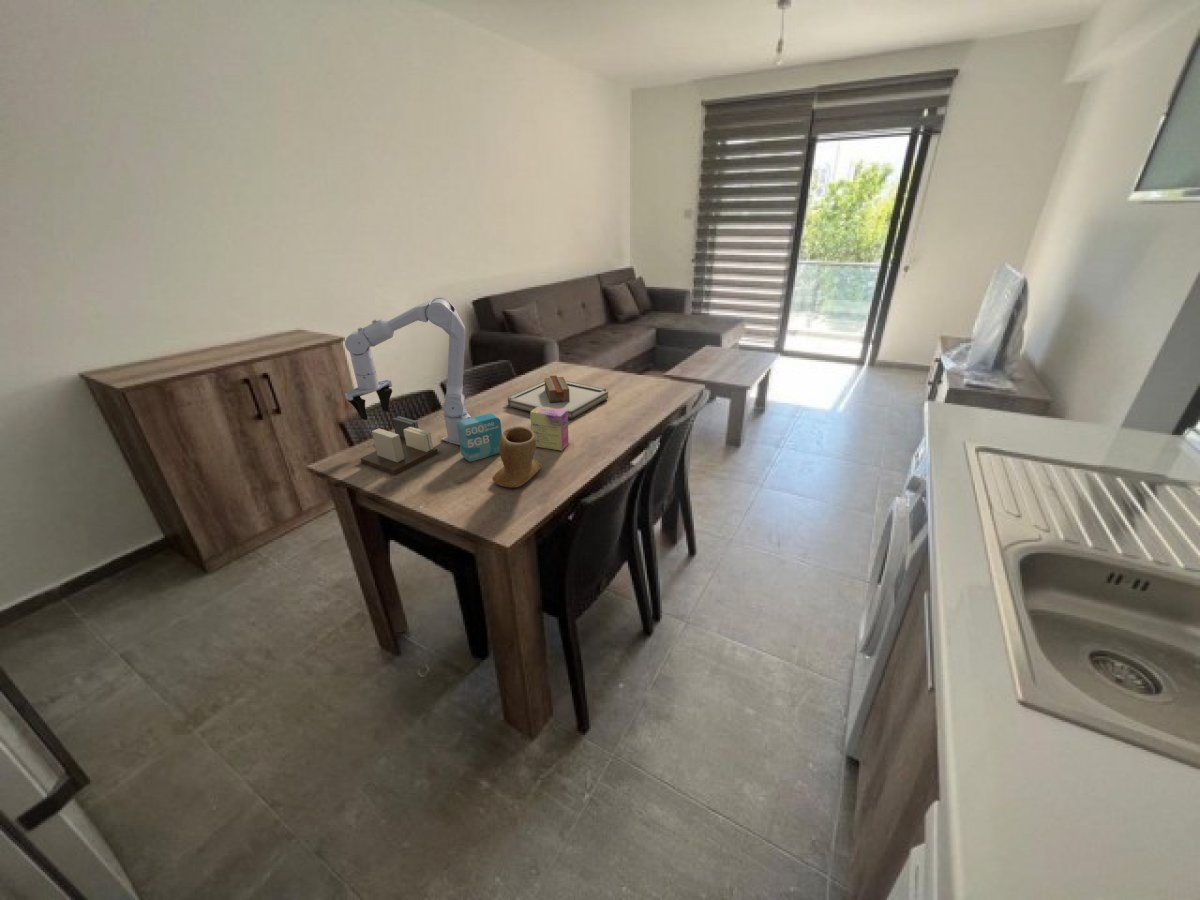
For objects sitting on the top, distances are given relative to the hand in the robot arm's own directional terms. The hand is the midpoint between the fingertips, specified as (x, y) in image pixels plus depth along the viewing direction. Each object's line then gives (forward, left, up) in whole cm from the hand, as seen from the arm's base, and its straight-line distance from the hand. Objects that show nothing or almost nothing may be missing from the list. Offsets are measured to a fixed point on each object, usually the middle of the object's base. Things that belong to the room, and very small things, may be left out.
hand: (375, 414), depth 149 cm
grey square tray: (-27, -60, -11) cm, 67 cm away
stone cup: (-52, -6, -11) cm, 53 cm away
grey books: (-2, -8, -10) cm, 14 cm away
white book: (-12, +6, -9) cm, 16 cm away
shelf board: (-13, +3, -10) cm, 17 cm away
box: (-47, -27, -11) cm, 55 cm away
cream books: (-15, -3, -9) cm, 17 cm away
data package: (-33, -11, -11) cm, 36 cm away
